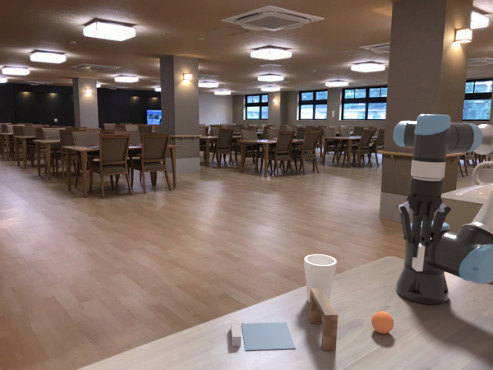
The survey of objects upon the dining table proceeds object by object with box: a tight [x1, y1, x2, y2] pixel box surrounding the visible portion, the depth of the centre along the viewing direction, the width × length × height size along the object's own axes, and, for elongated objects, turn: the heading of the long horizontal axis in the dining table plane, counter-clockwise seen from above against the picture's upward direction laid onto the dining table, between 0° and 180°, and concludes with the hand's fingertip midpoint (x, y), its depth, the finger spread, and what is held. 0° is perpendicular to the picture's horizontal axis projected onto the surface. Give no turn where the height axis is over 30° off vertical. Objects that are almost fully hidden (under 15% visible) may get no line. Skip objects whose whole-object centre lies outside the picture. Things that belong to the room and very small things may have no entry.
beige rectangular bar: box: [230, 319, 242, 347], centre depth 101 cm, size 2×8×2 cm, turn 5°
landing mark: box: [241, 321, 296, 352], centre depth 102 cm, size 12×12×1 cm
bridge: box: [308, 288, 339, 352], centre depth 103 cm, size 3×14×9 cm, turn 5°
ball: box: [371, 310, 395, 335], centre depth 104 cm, size 6×6×6 cm
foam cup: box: [303, 253, 338, 304], centre depth 120 cm, size 10×9×13 cm
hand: (417, 269), depth 103 cm, fingers closed
